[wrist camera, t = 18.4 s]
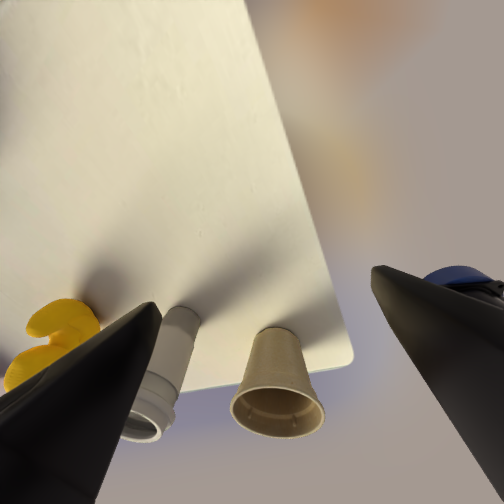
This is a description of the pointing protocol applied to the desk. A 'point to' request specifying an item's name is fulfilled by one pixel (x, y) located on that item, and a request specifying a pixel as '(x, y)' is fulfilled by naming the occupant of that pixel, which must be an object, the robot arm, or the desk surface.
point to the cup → (163, 377)
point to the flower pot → (277, 389)
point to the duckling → (52, 338)
